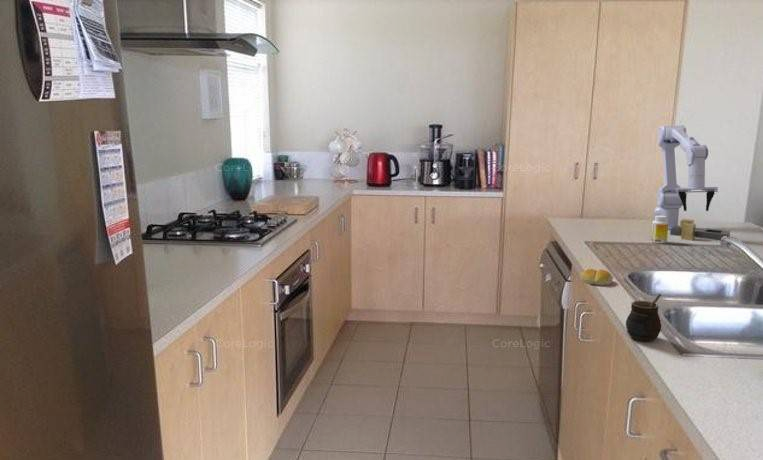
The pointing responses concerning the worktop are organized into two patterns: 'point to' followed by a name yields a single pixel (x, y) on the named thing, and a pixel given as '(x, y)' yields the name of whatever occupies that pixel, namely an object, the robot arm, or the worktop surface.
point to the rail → (703, 233)
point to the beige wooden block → (686, 222)
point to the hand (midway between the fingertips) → (696, 210)
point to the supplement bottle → (659, 230)
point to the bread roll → (596, 277)
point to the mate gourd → (644, 320)
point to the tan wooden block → (688, 231)
